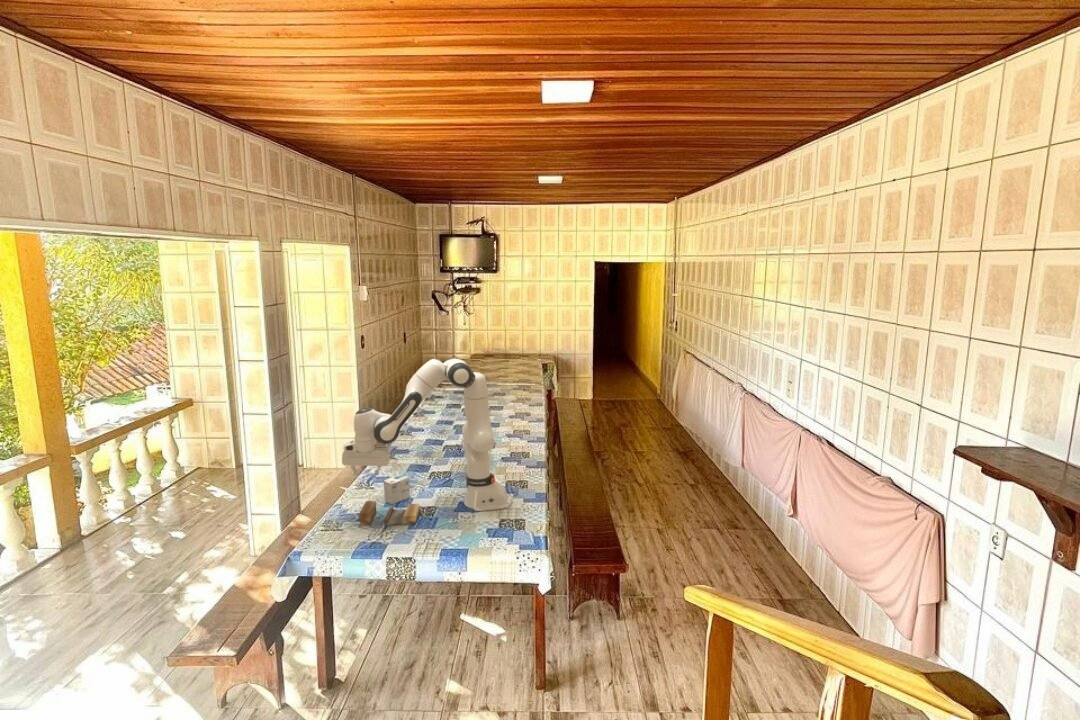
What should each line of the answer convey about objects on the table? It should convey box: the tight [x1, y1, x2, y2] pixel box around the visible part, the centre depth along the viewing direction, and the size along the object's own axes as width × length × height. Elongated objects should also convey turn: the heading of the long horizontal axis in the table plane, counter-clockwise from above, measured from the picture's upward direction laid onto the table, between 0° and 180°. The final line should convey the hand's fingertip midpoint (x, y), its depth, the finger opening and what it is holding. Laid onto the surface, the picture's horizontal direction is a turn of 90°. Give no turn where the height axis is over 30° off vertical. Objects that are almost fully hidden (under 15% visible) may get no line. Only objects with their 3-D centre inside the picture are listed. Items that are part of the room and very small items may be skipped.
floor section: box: [383, 503, 421, 527], centre depth 250 cm, size 14×13×4 cm
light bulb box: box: [383, 473, 411, 505], centre depth 269 cm, size 11×7×11 cm, turn 141°
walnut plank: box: [358, 500, 377, 527], centre depth 249 cm, size 4×12×6 cm, turn 4°
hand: (366, 474), depth 246 cm, fingers open, 8 cm apart
